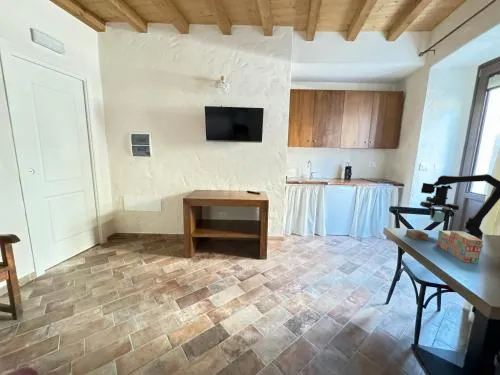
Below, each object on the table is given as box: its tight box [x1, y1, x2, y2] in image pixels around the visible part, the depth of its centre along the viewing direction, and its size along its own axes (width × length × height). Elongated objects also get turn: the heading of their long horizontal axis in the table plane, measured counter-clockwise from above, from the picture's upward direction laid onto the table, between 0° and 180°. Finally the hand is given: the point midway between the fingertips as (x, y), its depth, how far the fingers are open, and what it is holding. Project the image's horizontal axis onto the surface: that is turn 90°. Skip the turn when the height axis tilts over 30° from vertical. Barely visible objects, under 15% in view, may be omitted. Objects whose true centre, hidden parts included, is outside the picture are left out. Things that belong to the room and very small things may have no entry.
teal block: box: [429, 210, 445, 223], centre depth 142 cm, size 5×5×6 cm
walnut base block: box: [405, 228, 429, 241], centre depth 138 cm, size 8×8×4 cm
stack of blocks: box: [436, 229, 484, 264], centre depth 116 cm, size 21×6×12 cm, turn 168°
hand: (436, 218), depth 142 cm, fingers closed on teal block, 5 cm apart
